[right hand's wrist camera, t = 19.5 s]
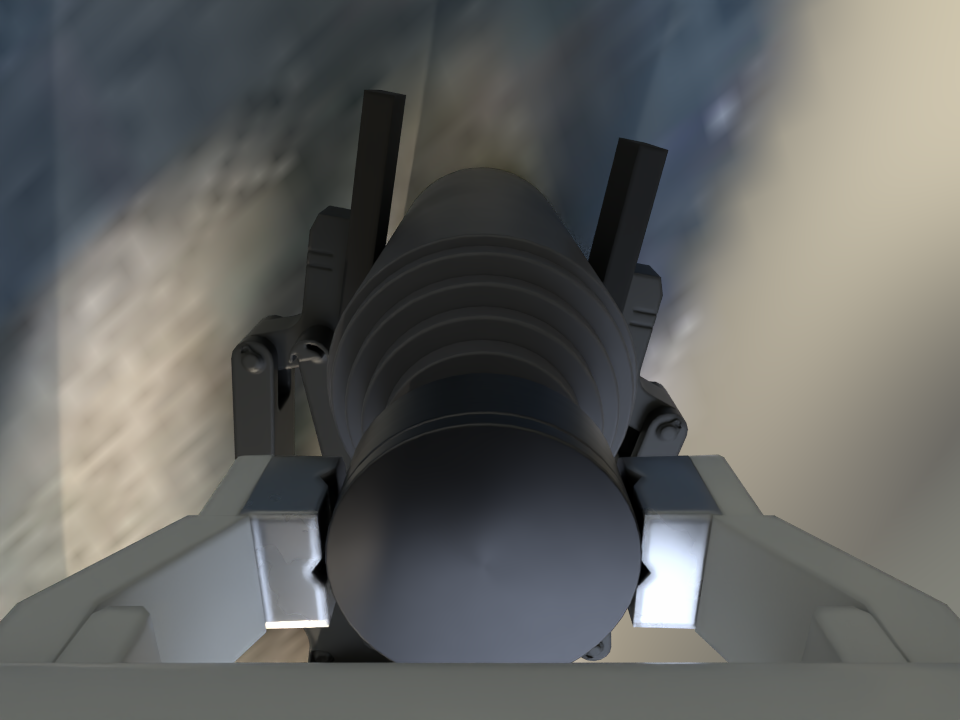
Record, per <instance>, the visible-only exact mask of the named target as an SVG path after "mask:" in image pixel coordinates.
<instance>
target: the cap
mask: <svg viewBox="0 0 960 720" xmlns="http://www.w3.org/2000/svg"><path fill="white" fill-rule="evenodd" d="M325 564H326V571H327V577H328V581H329V584H330V588H331V591H332V594H333V596H334V598H335V601H336V603H337V605H338V607H339V609H340V611H341V612H342V614H343V615H344V617H345V618H346V620H347V621H348V623H349V624H350V625H351V627H352V628H353V629H354V630H355V631H356V632H357V633H358V635H359V636H360V637H361V638H362V639H363V640H364V641H366V642H367V643H368V644H369V645H370V646H371V647H372V648H373V649H375V650H376V651H378V652H379V653H380V654H382V655H383V656H385V657H386V658H388V659H389V660H391V661H393V662H395V663H572V662H574V661H575V660H577V659H579V658H580V657H582V656H584V655H585V654H586V653H588V652H589V651H590V650H592V649H593V648H594V647H596V646H597V645H598V644H599V643H600V642H601V641H602V640H603V639H604V638H605V637H606V636H607V635H608V634H609V633H610V632H611V631H612V630H613V629H614V627H615V626H616V625H617V624H618V622H619V621H620V620H621V618H622V617H623V615H624V613H625V612H626V610H627V608H628V607H629V605H630V603H631V601H632V598H633V596H634V593H635V591H636V588H637V585H638V580H639V576H640V572H641V564H642V542H641V534H640V530H639V526H638V522H637V518H636V515H635V512H634V510H633V507H632V505H631V502H630V499H629V496H628V494H627V491H626V488H625V486H624V483H623V480H622V478H621V475H620V472H619V470H618V467H617V464H616V462H615V459H614V456H613V454H612V452H611V449H610V447H609V445H608V442H607V441H606V439H605V437H604V436H603V434H602V433H601V431H600V429H599V428H598V427H597V425H596V424H595V423H594V422H593V421H592V419H591V418H590V417H589V416H588V415H587V414H586V413H585V412H584V411H583V410H582V409H581V408H579V407H578V406H577V405H576V404H575V403H573V402H572V401H571V400H569V399H568V398H566V397H565V396H563V395H562V394H560V393H558V392H556V391H554V390H552V389H550V388H548V387H546V386H544V385H542V384H539V383H536V382H533V381H531V380H528V379H524V378H520V377H515V376H511V375H504V374H493V373H472V374H463V375H457V376H450V377H447V378H443V379H439V380H436V381H432V382H430V383H427V384H425V385H423V386H420V387H418V388H415V389H414V390H412V391H410V392H408V393H407V394H405V395H403V396H402V397H400V398H398V399H397V400H396V401H395V402H393V403H392V404H391V405H389V406H388V407H387V408H385V409H384V410H383V411H382V412H381V414H380V415H379V416H378V417H377V418H376V419H375V420H374V421H373V422H372V423H371V425H370V426H369V427H368V429H367V430H366V431H365V433H364V434H363V436H362V438H361V440H360V441H359V443H358V445H357V447H356V449H355V452H354V455H353V458H352V460H351V463H350V466H349V469H348V472H347V474H346V477H345V480H344V483H343V486H342V488H341V491H340V494H339V497H338V500H337V502H336V505H335V508H334V511H333V514H332V517H331V519H330V522H329V525H328V530H327V536H326V541H325Z"/></svg>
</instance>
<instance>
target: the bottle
mask: <svg viewBox="0 0 960 720" xmlns="http://www.w3.org/2000/svg"><path fill="white" fill-rule="evenodd" d="M472 373H493V374H504V375H511V376H515V377H520V378H524V379H528V380H531V381H533V382H536V383H539V384H542V385H544V386H546V387H548V388H550V389H552V390H554V391H556V392H558V393H560V394H562V395H563V396H565V397H566V398H568V399H569V400H571V401H572V402H573V403H575V404H576V405H577V406H578V407H579V408H581V409H582V410H583V411H584V412H585V413H586V414H587V415H588V416H589V417H590V418H591V419H592V421H593V422H594V423H595V424H596V425H597V427H598V428H599V429H600V431H601V433H602V434H603V436H604V437H605V439H606V441H607V442H608V445H609V447H610V449H611V452H612V454H613V456H614V457H615V456H616V454H617V452H618V450H619V448H620V446H621V444H622V442H623V440H624V438H625V435H626V432H627V429H628V426H629V423H630V419H631V415H632V412H633V408H634V403H635V397H636V392H637V362H636V353H635V349H634V345H633V341H632V337H631V334H630V331H629V329H628V326H627V324H626V322H625V319H624V317H623V315H622V313H621V312H620V310H619V308H618V306H617V305H616V303H615V301H614V300H613V298H612V297H611V295H610V294H609V292H608V291H607V289H606V288H605V286H604V285H603V283H602V282H601V280H600V279H599V277H598V276H597V274H596V273H595V271H594V270H593V268H592V267H591V265H590V264H589V262H588V261H587V259H586V258H585V256H584V255H583V253H582V252H581V250H580V249H579V247H578V246H577V244H576V243H575V241H574V240H573V238H572V237H571V235H570V234H569V232H568V231H567V229H566V228H565V226H564V225H563V223H562V222H561V220H560V219H559V217H558V216H557V214H556V213H555V211H554V210H553V208H552V207H551V205H550V204H549V202H548V201H547V200H546V198H545V197H544V196H543V195H542V194H541V193H540V192H539V191H538V190H537V189H536V188H535V187H534V186H532V185H531V184H530V183H528V182H527V181H526V180H524V179H522V178H520V177H518V176H516V175H514V174H511V173H509V172H506V171H502V170H498V169H493V168H470V169H464V170H460V171H457V172H454V173H451V174H448V175H446V176H444V177H442V178H440V179H438V180H437V181H435V182H434V183H432V184H431V185H430V186H429V187H427V188H426V189H425V190H424V191H423V192H422V193H421V194H420V195H419V196H418V198H417V199H416V200H415V201H414V203H413V204H412V206H411V207H410V209H409V210H408V212H407V214H406V215H405V217H404V218H403V220H402V221H401V223H400V224H399V226H398V228H397V229H396V231H395V232H394V234H393V235H392V237H391V239H390V240H389V242H388V243H387V245H386V246H385V248H384V249H383V251H382V253H381V254H380V256H379V257H378V259H377V260H376V262H375V263H374V265H373V267H372V268H371V270H370V271H369V273H368V274H367V276H366V278H365V279H364V281H363V282H362V284H361V285H360V287H359V288H358V290H357V292H356V293H355V295H354V296H353V298H352V299H351V301H350V302H349V304H348V306H347V307H346V309H345V310H344V312H343V314H342V316H341V318H340V321H339V323H338V325H337V327H336V329H335V332H334V336H333V339H332V343H331V346H330V350H329V357H328V364H327V389H328V395H329V402H330V407H331V410H332V414H333V417H334V421H335V424H336V427H337V431H338V434H339V436H340V438H341V441H342V443H343V445H344V447H345V450H346V451H347V453H348V455H349V456H350V458H351V460H352V458H353V455H354V452H355V449H356V447H357V445H358V443H359V441H360V440H361V438H362V436H363V434H364V433H365V431H366V430H367V429H368V427H369V426H370V425H371V423H372V422H373V421H374V420H375V419H376V418H377V417H378V416H379V415H380V414H381V412H382V411H383V410H384V409H385V408H387V407H388V406H389V405H391V404H392V403H393V402H395V401H396V400H397V399H398V398H400V397H402V396H403V395H405V394H407V393H408V392H410V391H412V390H414V389H415V388H418V387H420V386H423V385H425V384H427V383H430V382H432V381H436V380H439V379H443V378H447V377H450V376H457V375H463V374H472Z"/></svg>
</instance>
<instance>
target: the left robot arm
mask: <svg viewBox="0 0 960 720" xmlns="http://www.w3.org/2000/svg"><path fill="white" fill-rule="evenodd" d="M405 99H406V95H403V94H398V93H393V92H388V91H383V90H364V98H363V107H362V116H361V125H360V134H359V142H358V151H357V160H356V169H355V178H354V187H353V195H352V204H351V210H350V209H345V208H339V207H334V206H328V207H327V208H326V209H324V210H323V211H322V212H320V213H319V214H318V216H317V218H316V220H315V222H314V224H313V225H312V227H311V229H310V234H309V245H308V256H307V267H306V278H305V288H304V299H303V310H302V313H301V314H299V315H295V316H289V317H281V316H277V315H271V316H267V317H265V318H263V319H262V320H261V321H260V322H259V323H258V324H257V325H256V326H255V327H254V328H253V329H252V330H251V331H250V332H249V333H248V334H247V335H246V337H245V338H244V339H243V340H242V341H241V342H240V343H239V344H238V345H237V346H236V348H235V349H234V350H233V352H232V358H231V362H232V388H233V414H234V440H235V460H236V459H237V458H238V457H240V456H245V455H274V456H295V368H296V367H299V368H300V372H301V376H302V379H303V383H304V387H305V391H306V395H307V399H308V403H309V407H310V410H311V414H312V418H313V422H314V426H315V430H316V434H317V437H318V441H319V445H320V449H321V453H322V456H330V457H342V458H343V460H344V463H345V469H346V474H347V472H348V469H349V466H350V463H351V458H350V456H349V455H348V453H347V451H346V450H345V447H344V445H343V443H342V441H341V438H340V436H339V434H338V431H337V427H336V424H335V421H334V417H333V414H332V410H331V407H330V402H329V395H328V389H327V364H328V357H329V350H330V346H331V343H332V339H333V336H334V332H335V329H336V327H337V325H338V323H339V321H340V318H341V316H342V314H343V312H344V310H345V309H346V307H347V306H348V304H349V302H350V301H351V299H352V298H353V296H354V295H355V293H356V292H357V290H358V288H359V287H360V285H361V284H362V282H363V281H364V279H365V278H366V276H367V274H368V273H369V271H370V270H371V268H372V267H373V265H374V263H375V262H376V260H377V259H378V257H379V256H380V254H381V253H382V251H383V249H384V248H385V246H386V239H387V232H388V225H389V217H390V210H391V202H392V195H393V188H394V180H395V173H396V165H397V158H398V150H399V143H400V136H401V128H402V121H403V113H404V106H405ZM667 153H668V150H666V149H663V148H660V147H657V146H654V145H650V144H647V143H644V142H639V141H634V140H629V139H624V138H619V141H618V145H617V149H616V153H615V157H614V161H613V165H612V169H611V173H610V177H609V181H608V185H607V189H606V193H605V197H604V201H603V205H602V209H601V213H600V217H599V220H598V224H597V228H596V232H595V236H594V240H593V244H592V248H591V252H590V256H589V260H588V262H589V264H590V265H591V267H592V268H593V270H594V271H595V273H596V274H597V276H598V277H599V279H600V280H601V282H602V283H603V285H604V286H605V288H606V289H607V291H608V292H609V294H610V295H611V297H612V298H613V300H614V301H615V303H616V305H617V306H618V308H619V310H620V312H621V313H622V315H623V317H624V319H625V322H626V324H627V326H628V329H629V331H630V334H631V337H632V341H633V345H634V349H635V353H636V362H637V392H636V397H635V403H634V408H633V412H632V415H631V419H630V423H629V426H628V429H627V432H626V435H625V438H624V440H623V442H622V444H621V446H620V448H619V450H618V452H617V454H616V456H615V457H614V459H615V462H616V464H617V461H618V458H621V457H649V456H678V454H679V452H680V450H681V447H682V445H683V443H684V441H685V438H686V436H687V431H688V428H687V424H686V422H685V420H684V418H683V417H682V415H681V413H680V412H679V410H678V409H677V407H676V405H675V404H674V402H673V401H672V399H671V397H670V396H669V394H668V392H667V391H666V389H665V388H664V387H663V386H662V385H661V384H659V383H657V382H650V381H647V380H646V379H644V378H642V377H641V376H640V370H641V366H642V363H643V360H644V356H645V353H646V350H647V346H648V343H649V340H650V336H651V333H652V330H653V329H652V328H653V326H654V323H655V320H656V314H657V313H658V310H659V306H660V303H661V300H662V296H663V294H662V284H661V277H660V276H659V275H658V274H657V273H656V272H655V271H654V270H653V269H652V268H651V267H650V266H649V265H644V264H638V263H637V260H638V257H639V253H640V250H641V246H642V242H643V239H644V235H645V232H646V228H647V224H648V221H649V217H650V214H651V210H652V207H653V203H654V199H655V196H656V192H657V189H658V185H659V181H660V178H661V174H662V171H663V167H664V164H665V160H666V156H667ZM303 628H304V630H305V632H306V634H307V636H308V639H309V644H310V649H309V657H308V663H395V662H393V661H391V660H389V659H388V658H386V657H385V656H383V655H382V654H380V653H379V652H378V651H376V650H375V649H373V648H372V647H371V646H370V645H369V644H368V643H367V642H366V641H364V640H363V639H362V638H361V637H360V636H359V635H358V633H357V632H356V631H355V630H354V629H353V628H352V627H351V625H350V624H349V623H348V621H347V620H346V618H345V617H344V615H343V614H342V612H341V611H340V609H339V607H338V605H337V603H335V606H334V610H333V613H332V617H331V620H330V624H329V627H303ZM610 649H611V632H610V633H609V634H608V635H607V636H606V637H605V638H604V639H603V640H602V641H601V642H600V643H599V644H598V645H597V646H596V647H594V648H593V649H592V650H590V651H589V652H588V653H586V654H585V655H584V656H582V658H584V659H586V660H590V661H596V660H601V659H602V658H604V657H606V656H607V655H608V654H609V652H610Z"/></svg>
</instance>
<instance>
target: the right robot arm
mask: <svg viewBox="0 0 960 720" xmlns="http://www.w3.org/2000/svg"><path fill="white" fill-rule="evenodd" d="M617 467H618V470H619V472H620V475H621V478H622V480H623V483H624V486H625V488H626V491H627V494H628V496H629V499H630V502H631V505H632V507H633V510H634V512H635V515H636V518H637V522H638V526H639V530H640V534H641V542H642V564H641V572H640V576H639V580H638V585H637V588H636V591H635V593H634V596H633V598H632V601H631V603H630V605H629V607H628V610H629V614H630V617H631V621H632V624H633V627H659V628H695V632H696V633H698V634H699V635H700V636H701V637H702V638H703V639H704V640H705V641H706V642H707V643H708V644H709V645H710V646H711V647H712V648H714V649H715V650H716V651H717V652H718V653H719V654H720V655H721V656H722V657H723V658H724V659H725V660H726V661H727V662H728V663H234V662H235V661H236V660H237V659H238V658H239V657H240V656H241V655H242V654H243V653H244V652H245V651H247V650H248V649H249V648H250V647H251V646H252V645H253V644H254V643H255V642H256V641H257V640H258V639H259V638H260V637H261V636H263V635H264V634H265V633H266V629H267V628H303V627H329V624H330V620H331V617H332V613H333V610H334V606H335V603H336V601H335V598H334V596H333V594H332V591H331V588H330V584H329V581H328V577H327V571H326V564H325V541H326V536H327V530H328V525H329V522H330V519H331V517H332V514H333V511H334V508H335V505H336V502H337V500H338V497H339V494H340V491H341V488H342V486H343V483H344V480H345V477H346V469H345V463H344V460H343V458H342V457H330V456H274V455H245V456H240V457H238V458H237V459H236V460H235V462H234V463H233V464H232V466H231V467H230V469H229V470H228V472H227V473H226V475H225V476H224V478H223V479H222V481H221V482H220V484H219V485H218V487H217V488H216V490H215V491H214V493H213V494H212V496H211V497H210V499H209V500H208V502H207V503H206V505H205V506H204V508H203V509H202V511H201V512H200V514H199V515H188V516H186V517H184V518H182V519H180V520H178V521H176V522H174V523H172V524H170V525H168V526H166V527H164V528H162V529H161V530H159V531H157V532H155V533H153V534H151V535H149V536H147V537H145V538H143V539H141V540H139V541H137V542H135V543H133V544H131V545H129V546H128V547H126V548H124V549H122V550H120V551H118V552H116V553H114V554H112V555H110V556H108V557H106V558H104V559H102V560H100V561H98V562H97V563H95V564H93V565H91V566H89V567H87V568H85V569H83V570H81V571H79V572H77V573H75V574H73V575H71V576H69V577H67V578H65V579H64V580H62V581H60V582H58V583H56V584H54V585H52V586H50V587H48V588H46V589H44V590H42V591H40V592H38V593H36V594H34V595H32V596H31V597H29V598H27V599H25V600H23V601H21V602H19V603H17V604H16V605H15V606H14V607H13V608H12V610H11V611H10V612H9V613H8V614H7V615H6V616H5V617H4V618H3V619H2V621H1V622H0V720H960V619H959V617H958V616H957V615H956V614H955V613H954V612H953V611H952V610H951V609H950V608H949V606H948V605H947V604H945V603H943V602H941V601H939V600H937V599H935V598H933V597H931V596H929V595H927V594H925V593H923V592H922V591H920V590H918V589H916V588H914V587H912V586H910V585H908V584H906V583H904V582H902V581H900V580H898V579H896V578H894V577H893V576H891V575H889V574H887V573H885V572H883V571H881V570H879V569H877V568H875V567H873V566H871V565H869V564H867V563H865V562H863V561H861V560H860V559H858V558H856V557H854V556H852V555H850V554H848V553H846V552H844V551H842V550H840V549H838V548H836V547H834V546H832V545H830V544H829V543H827V542H825V541H823V540H821V539H819V538H817V537H815V536H813V535H811V534H809V533H807V532H805V531H803V530H801V529H799V528H798V527H796V526H794V525H792V524H790V523H788V522H786V521H784V520H782V519H780V518H778V517H776V516H773V515H763V514H762V512H761V511H760V509H759V508H758V506H757V505H756V504H755V502H754V501H753V499H752V498H751V496H750V495H749V493H748V492H747V490H746V489H745V487H744V486H743V485H742V483H741V482H740V480H739V479H738V477H737V476H736V474H735V473H734V471H733V470H732V469H731V467H730V466H729V464H728V463H727V461H726V460H725V458H724V457H722V456H720V455H699V456H649V457H621V458H618V461H617Z"/></svg>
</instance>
